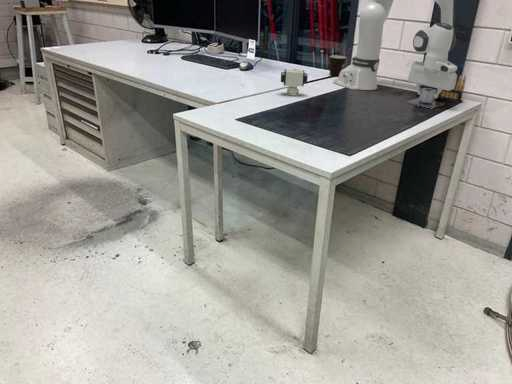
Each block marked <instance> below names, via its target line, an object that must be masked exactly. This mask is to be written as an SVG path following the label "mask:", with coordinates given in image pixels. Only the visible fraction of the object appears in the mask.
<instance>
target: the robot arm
mask: <svg viewBox="0 0 512 384" xmlns="http://www.w3.org/2000/svg"><path fill="white" fill-rule="evenodd" d="M432 1H433V2H435V3H436V4H437V5H438V7H439V8H440V22H436V23H434V24H433V25H432V26H430V27H429V28H428V27H427V28H424V29H420V30H418V31H417V32H416V33H415V35H414V37H413V40H412V46H413V49H414V50H415V52H418V53H422V54H423V53H426V55H425V58H424V61H419V60H415V61H413V62H412V63H411V66H410V70H409V73H408V77H407V80H408V83H413V84H416V88H417V89H416V90H417V95H419V96H420V92H421V89H422V87H421V86H426V87H429V88H435V89H436V93H435V94H434V95H433V98H435V99H436V100H437V98H438V95H439V94H440V93H441V92H442V90H447V91H450V90H452V89H454V87H455V83H456V84H457V82H456V75H457V73H456V72H457V70H458V65H456V64H454V63H452V62H451V61H449V60H448V58H449V52H451V50H453V48H454V47H455V46H456V41H457V37H456V36H457V35H456V24H455V22H456V0H432ZM393 3H394V0H368V1H367V4H366V5H364V6H363V8H362V9H361V11H360V14H359V23H358V41H357V48H356V54H355V56H354V57H350V61H352V62H351V64H349V65H348V66H345V68H344V67H343V70H341V72H340V74H339V77H337V78H336V79H334V80H333V82H332V83H334V84H335V85H338V86H341V87H344V88H347V89H350V90H362V91H365V90H366V91H373V90H376V89H377V90H378V83H377V82H378V70H379V65H380V55H381V49H382V42H383V30H384V23H385V22H386V21H387V19H388V17H389V14H390V11H391V9H392V6H393ZM455 88H456V87H455ZM441 94H442V93H441ZM435 99H434V100H435Z"/></svg>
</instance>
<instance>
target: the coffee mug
mask: <svg viewBox="0 0 512 384" xmlns="http://www.w3.org/2000/svg"><path fill="white" fill-rule="evenodd" d="M346 59H347V57H346V56H344V55H339V54H338V55H336V54H334V55H330V56H329V76H330V77H333V78H338V77H339V74H340V72H341V70H343V69H344V67H345V62H346Z"/></svg>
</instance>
